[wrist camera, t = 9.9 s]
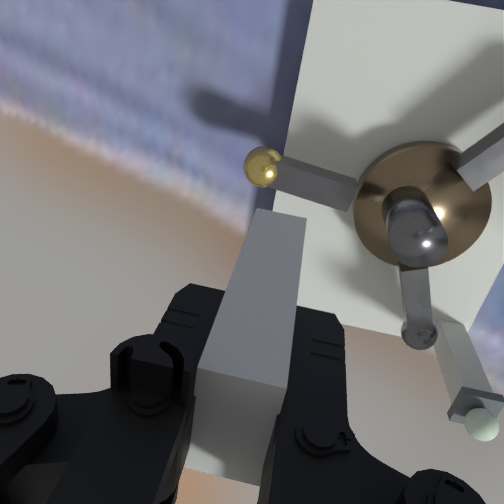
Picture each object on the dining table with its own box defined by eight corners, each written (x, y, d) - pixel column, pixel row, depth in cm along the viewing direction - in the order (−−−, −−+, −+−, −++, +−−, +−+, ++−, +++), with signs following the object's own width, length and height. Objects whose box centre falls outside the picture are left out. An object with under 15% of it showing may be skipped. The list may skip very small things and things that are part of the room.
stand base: (318, -21, 25) (312, -39, 15) (609, 30, 24) (793, 44, 14) (256, 293, 36) (231, 396, 26) (453, 336, 35) (500, 458, 25)
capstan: (218, 262, 33) (196, 314, 27) (294, -8, 24) (284, -12, 18) (421, 327, 33) (440, 392, 27) (574, 83, 24) (648, 106, 18)
